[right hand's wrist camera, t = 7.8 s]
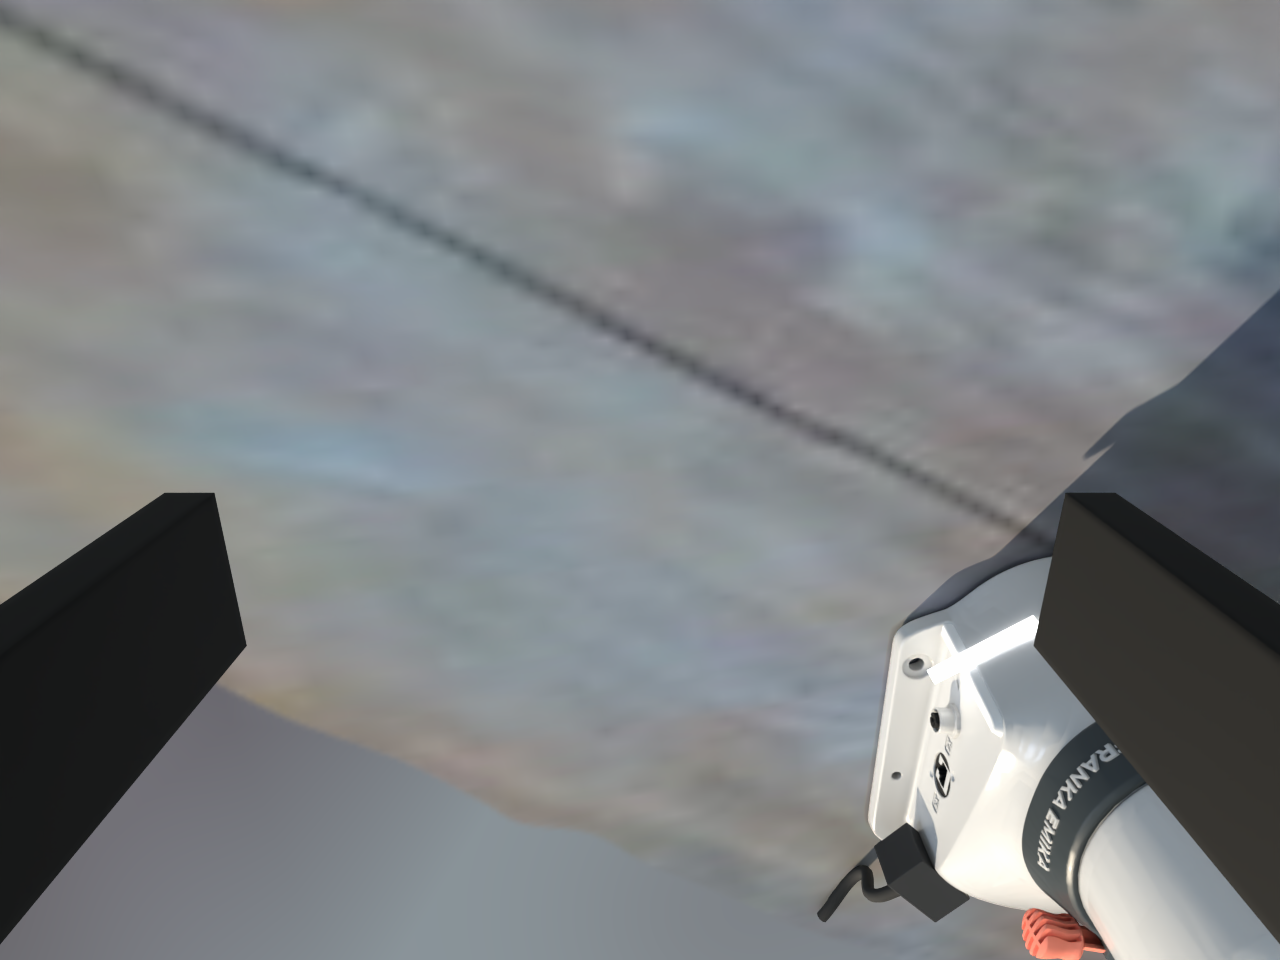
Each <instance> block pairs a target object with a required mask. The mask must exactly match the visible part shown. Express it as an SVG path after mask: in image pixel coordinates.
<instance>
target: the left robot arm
mask: <svg viewBox="0 0 1280 960" xmlns="http://www.w3.org/2000/svg"><path fill="white" fill-rule="evenodd" d="M1051 560H1052V557H1046V558H1041V559H1037V560H1033V561H1030V562H1027V563H1023V564H1021V565H1018V566H1015V567H1013V568H1011V569H1008V570H1006V571H1004V572H1002V573H1000V574H998V575H996V576H994V577H993V578H991V579H989V580H987V581H986V582H984V583H983V584H981V585H980V586H978V587H977V588H976V589H974V590H973V591H972V592H971V593H969V594H968V595H967V596H965V597H964V598H963V599H961V600H960V601H958V602H957V603H955V604H954V605H952V606H951V607H949V608H947V609H945V610H941V611H938V612H935V613H932V614H929V615H926V616H923V617H920V618H917V619H915V620H913V621H910V622H908V623H907V624H905V625H903V626H902V627H901V628H900V629H899V630H898V631H897V632H896V634H895V636H894V639H893V644H892V651H891V658H890V665H889V672H888V679H887V686H886V693H885V700H884V707H883V714H882V720H881V727H880V734H879V741H878V748H877V755H876V762H875V769H874V776H873V783H872V790H871V797H870V804H869V812H868V822H869V824H870V826H871V828H872V830H873V832H874V834H875V835H876V836H877V837H878V838H879V839H881V840H882V841H880V842H879V843H878V844H876V845H875V846H874V847H875V850H876V853H877V856H878V859H879V862H880V865H881V867H882V870H883V873H884V876H885V879H886V882H887V886H885V887H882V888H879V889H874V879H873V873H872V870H871V869H870V868H869V867H867V866H858V867H856V868H854V869H853V870H852V871H850V872H849V873H848V874H847V875H846V876H845V877H844V879H843V880H842V881H841V882H840V883H839V885H838V886H837V887H836V889H835V890H834V892H833V893H832V895H831V896H830V897H829V899H828V900H827V902H826V903H825V904H824V906H823V907H822V908H821V909H820V910H819V912H818V913H817V914H818V917H819V919H820V920H821V921H823V922H826V921H827V920H828V919H829V918H830V916H831V915H832V914H833V913H834V911H835V910H836V909H837V907H838V906H839V904H840V903H841V902H842V900H843V899H844V897H845V896H846V895H847V893H848V892H849V891H850V889H851V888H852V887H853V886H854V885H855V884H856V883H857V882H858V881H859V880H861V884H862V891H863V894H864V896H865V897H866V898H867V899H868V900H869V901H872V902H885V901H889V900H891V899H894V898H896V897H899V896H902V897H903V898H904V899H905V900H907V901H908V902H909V903H911V904H912V905H913V906H915V907H916V908H917V909H918V910H920V911H921V912H922V913H924V914H925V915H926V916H927V917H929V918H930V919H931V920H933V921H934V922H937V921H938V920H940V919H941V918H943V917H944V916H946V915H947V914H949V913H950V912H952V911H953V910H954V909H956V908H957V907H959V906H960V905H962V904H963V903H965V902H966V901H968V900H969V899H970V898H969V896H968V895H970V896H973V897H975V898H977V899H980V900H983V901H987V902H990V903H993V904H997V905H1001V906H1005V907H1010V908H1016V909H1022V910H1027V911H1026V913H1025V915H1024V917H1023V922H1022V930H1024V931H1023V939H1024V941H1026V948H1027V949H1028V950H1030V954H1031V955H1032V956H1036V958H1041V959H1052V958H1061V959H1063V960H1079V959H1080V958H1081V956H1082V953H1083V950H1088V951H1095V952H1101V953H1103V954H1104V956H1105V958H1106V959H1108V960H1280V944H1279V943H1278V942H1277V940H1276V939H1275V938H1274V937H1273V935H1272V934H1271V933H1270V932H1269V931H1268V929H1267V928H1266V927H1265V926H1264V925H1263V923H1262V922H1261V921H1260V920H1259V919H1258V917H1257V916H1256V915H1255V914H1254V912H1253V911H1252V910H1251V909H1250V908H1249V906H1248V905H1247V904H1246V903H1245V902H1244V900H1243V899H1242V898H1241V897H1240V896H1239V894H1238V893H1237V892H1236V891H1235V889H1234V888H1233V887H1232V886H1231V885H1230V883H1229V882H1228V881H1227V880H1226V879H1225V877H1224V876H1223V875H1222V874H1221V872H1220V871H1219V870H1218V869H1217V868H1216V866H1215V865H1214V864H1213V863H1212V862H1211V860H1210V859H1209V858H1208V857H1207V856H1206V854H1205V853H1204V852H1203V851H1202V849H1201V848H1200V847H1199V846H1198V845H1197V843H1196V842H1195V841H1194V840H1193V839H1192V837H1191V836H1190V835H1189V834H1188V833H1187V831H1186V830H1185V829H1184V828H1183V826H1182V825H1181V824H1180V823H1179V822H1178V820H1177V819H1176V818H1175V817H1174V816H1173V814H1172V813H1171V812H1170V811H1169V810H1168V808H1167V807H1166V806H1165V805H1164V803H1163V802H1162V801H1161V800H1160V799H1159V797H1158V796H1157V795H1156V794H1155V793H1154V791H1153V790H1152V789H1151V788H1150V786H1149V785H1148V784H1147V783H1146V782H1145V780H1144V779H1143V778H1142V777H1141V776H1140V774H1139V773H1138V772H1137V771H1136V770H1135V768H1134V767H1133V766H1132V765H1131V763H1130V762H1129V761H1128V760H1127V759H1126V757H1125V756H1124V755H1123V754H1122V753H1121V751H1120V750H1119V749H1118V748H1117V747H1116V745H1115V744H1114V743H1113V742H1112V740H1111V739H1110V738H1109V737H1108V736H1107V734H1106V733H1105V732H1104V731H1103V730H1102V728H1101V727H1100V726H1099V725H1098V723H1097V722H1096V721H1095V720H1094V719H1093V717H1092V716H1091V715H1090V714H1089V713H1088V711H1087V710H1086V709H1085V708H1084V707H1083V705H1082V704H1081V703H1080V702H1079V700H1078V699H1077V698H1076V697H1075V696H1074V694H1073V693H1072V692H1071V691H1070V690H1069V688H1068V687H1067V686H1066V685H1065V684H1064V682H1063V681H1062V680H1061V679H1060V677H1059V676H1058V675H1057V674H1056V673H1055V671H1054V670H1053V669H1052V668H1051V667H1050V665H1049V664H1048V663H1047V662H1046V661H1045V659H1044V658H1043V657H1042V656H1041V654H1040V653H1039V652H1038V651H1037V650H1036V648H1035V647H1034V646H1033V645H1034V640H1035V636H1036V631H1037V626H1038V621H1039V617H1040V612H1041V607H1042V602H1043V598H1044V593H1045V588H1046V583H1047V579H1048V574H1049V569H1050V565H1051ZM914 658H920V659H919V660H918V661H917V662H916V663H910V661H911V660H912V659H914ZM1052 913H1061V914H1052ZM1067 913H1068V914H1067ZM1076 920H1077V921H1078V922H1080V923H1081V924H1082V925H1084V926H1080V925H1079V923H1078V922H1077V921H1076Z"/></svg>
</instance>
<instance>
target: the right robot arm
mask: <svg viewBox="0 0 1280 960" xmlns="http://www.w3.org/2000/svg"><path fill="white" fill-rule="evenodd" d="M246 646H247V645H246V640H245V636H244V631H243V626H242V621H241V617H240V612H239V607H238V602H237V598H236V593H235V588H234V583H233V579H232V574H231V569H230V565H229V560H228V555H227V550H226V546H225V541H224V536H223V531H222V527H221V522H220V517H219V512H218V508H217V503H216V498H215V493H164V494H162V495H161V496H159V497H158V498H156V499H155V500H153V501H152V502H151V503H149V504H148V505H146V506H145V507H143V508H142V509H140V510H139V511H137V512H136V513H134V514H133V515H131V516H130V517H129V518H127V519H126V520H124V521H123V522H121V523H120V524H118V525H117V526H115V527H114V528H112V529H111V530H109V531H108V532H106V533H105V534H104V535H102V536H101V537H99V538H98V539H96V540H95V541H93V542H92V543H90V544H89V545H87V546H86V547H84V548H83V549H82V550H80V551H79V552H77V553H76V554H74V555H73V556H71V557H70V558H68V559H67V560H65V561H64V562H62V563H61V564H59V565H58V566H57V567H55V568H54V569H52V570H51V571H49V572H48V573H46V574H45V575H43V576H42V577H40V578H39V579H37V580H36V581H35V582H33V583H32V584H30V585H29V586H27V587H26V588H24V589H23V590H21V591H20V592H18V593H17V594H15V595H14V596H12V597H11V598H10V599H8V600H7V601H5V602H4V603H2V604H1V605H0V944H1V943H2V942H3V940H4V939H5V938H6V937H7V935H8V934H9V933H10V932H11V931H12V929H13V928H14V927H15V926H16V925H17V923H18V922H19V921H20V920H21V919H22V917H23V916H24V915H25V914H26V912H27V911H28V910H29V909H30V908H31V906H32V905H33V904H34V903H35V901H36V900H37V899H38V898H39V897H40V895H41V894H42V893H43V892H44V891H45V889H46V888H47V887H48V886H49V884H50V883H51V882H52V881H53V880H54V878H55V877H56V876H57V875H58V874H59V872H60V871H61V870H62V869H63V868H64V866H65V865H66V864H67V863H68V862H69V860H70V859H71V858H72V857H73V856H74V854H75V853H76V852H77V851H78V849H79V848H80V847H81V846H82V845H83V843H84V842H85V841H86V840H87V839H88V837H89V836H90V835H91V834H92V833H93V831H94V830H95V829H96V828H97V826H98V825H99V824H100V823H101V822H102V820H103V819H104V818H105V817H106V816H107V814H108V813H109V812H110V811H111V809H112V808H113V807H114V806H115V805H116V803H117V802H118V801H119V800H120V799H121V797H122V796H123V795H124V794H125V792H126V791H127V790H128V789H129V788H130V786H131V785H132V784H133V783H134V782H135V780H136V779H137V778H138V777H139V776H140V774H141V773H142V772H143V771H144V769H145V768H146V767H147V766H148V765H149V763H150V762H151V761H152V760H153V759H154V757H155V756H156V755H157V754H158V753H159V751H160V750H161V749H162V748H163V746H164V745H165V744H166V743H167V742H168V740H169V739H170V738H171V737H172V736H173V734H174V733H175V732H176V731H177V730H178V728H179V727H180V726H181V725H182V723H183V722H184V721H185V720H186V719H187V717H188V716H189V715H190V714H191V713H192V711H193V710H194V709H195V708H196V706H197V705H198V704H199V703H200V702H201V700H202V699H203V698H204V697H205V696H206V694H207V693H208V692H209V691H210V690H211V688H212V687H213V686H214V685H215V684H216V682H217V681H218V680H219V679H220V677H221V676H222V675H223V674H224V673H225V671H226V670H227V669H228V668H229V667H230V665H231V664H232V663H233V662H234V660H235V659H236V658H237V657H238V656H239V654H240V653H241V652H242V651H243V650H244V648H245V647H246ZM1033 646H1034V647H1035V648H1036V650H1037V651H1038V652H1039V653H1040V654H1041V656H1042V657H1043V658H1044V659H1045V661H1046V662H1047V663H1048V664H1049V665H1050V667H1051V668H1052V669H1053V670H1054V671H1055V673H1056V674H1057V675H1058V676H1059V677H1060V679H1061V680H1062V681H1063V682H1064V684H1065V685H1066V686H1067V687H1068V688H1069V690H1070V691H1071V692H1072V693H1073V694H1074V696H1075V697H1076V698H1077V699H1078V700H1079V702H1080V703H1081V704H1082V705H1083V707H1084V708H1085V709H1086V710H1087V711H1088V713H1089V714H1090V715H1091V716H1092V717H1093V719H1094V720H1095V721H1096V722H1097V723H1098V725H1099V726H1100V727H1101V728H1102V730H1103V731H1104V732H1105V733H1106V734H1107V736H1108V737H1109V738H1110V739H1111V740H1112V742H1113V743H1114V744H1115V745H1116V747H1117V748H1118V749H1119V750H1120V751H1121V753H1122V754H1123V755H1124V756H1125V757H1126V759H1127V760H1128V761H1129V762H1130V763H1131V765H1132V766H1133V767H1134V768H1135V770H1136V771H1137V772H1138V773H1139V774H1140V776H1141V777H1142V778H1143V779H1144V780H1145V782H1146V783H1147V784H1148V785H1149V786H1150V788H1151V789H1152V790H1153V791H1154V793H1155V794H1156V795H1157V796H1158V797H1159V799H1160V800H1161V801H1162V802H1163V803H1164V805H1165V806H1166V807H1167V808H1168V810H1169V811H1170V812H1171V813H1172V814H1173V816H1174V817H1175V818H1176V819H1177V820H1178V822H1179V823H1180V824H1181V825H1182V826H1183V828H1184V829H1185V830H1186V831H1187V833H1188V834H1189V835H1190V836H1191V837H1192V839H1193V840H1194V841H1195V842H1196V843H1197V845H1198V846H1199V847H1200V848H1201V849H1202V851H1203V852H1204V853H1205V854H1206V856H1207V857H1208V858H1209V859H1210V860H1211V862H1212V863H1213V864H1214V865H1215V866H1216V868H1217V869H1218V870H1219V871H1220V872H1221V874H1222V875H1223V876H1224V877H1225V879H1226V880H1227V881H1228V882H1229V883H1230V885H1231V886H1232V887H1233V888H1234V889H1235V891H1236V892H1237V893H1238V894H1239V896H1240V897H1241V898H1242V899H1243V900H1244V902H1245V903H1246V904H1247V905H1248V906H1249V908H1250V909H1251V910H1252V911H1253V912H1254V914H1255V915H1256V916H1257V917H1258V919H1259V920H1260V921H1261V922H1262V923H1263V925H1264V926H1265V927H1266V928H1267V929H1268V931H1269V932H1270V933H1271V934H1272V935H1273V937H1274V938H1275V939H1276V940H1277V942H1278V943H1279V944H1280V605H1279V604H1278V603H1276V602H1275V601H1273V600H1272V599H1270V598H1269V597H1268V596H1266V595H1265V594H1263V593H1262V592H1260V591H1259V590H1257V589H1256V588H1254V587H1253V586H1251V585H1250V584H1248V583H1247V582H1245V581H1244V580H1243V579H1241V578H1240V577H1238V576H1237V575H1235V574H1234V573H1232V572H1231V571H1229V570H1228V569H1226V568H1225V567H1223V566H1222V565H1221V564H1219V563H1218V562H1216V561H1215V560H1213V559H1212V558H1210V557H1209V556H1207V555H1206V554H1204V553H1203V552H1201V551H1200V550H1198V549H1197V548H1196V547H1194V546H1193V545H1191V544H1190V543H1188V542H1187V541H1185V540H1184V539H1182V538H1181V537H1179V536H1178V535H1176V534H1175V533H1174V532H1172V531H1171V530H1169V529H1168V528H1166V527H1165V526H1163V525H1162V524H1160V523H1159V522H1157V521H1156V520H1154V519H1153V518H1151V517H1150V516H1149V515H1147V514H1146V513H1144V512H1143V511H1141V510H1140V509H1138V508H1137V507H1135V506H1134V505H1132V504H1131V503H1129V502H1128V501H1127V500H1125V499H1124V498H1122V497H1121V496H1119V495H1118V494H1116V493H1065V498H1064V503H1063V508H1062V512H1061V517H1060V522H1059V527H1058V531H1057V536H1056V541H1055V546H1054V550H1053V555H1052V560H1051V565H1050V569H1049V574H1048V579H1047V583H1046V588H1045V593H1044V598H1043V602H1042V607H1041V612H1040V617H1039V621H1038V626H1037V631H1036V636H1035V640H1034V645H1033Z"/></svg>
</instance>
